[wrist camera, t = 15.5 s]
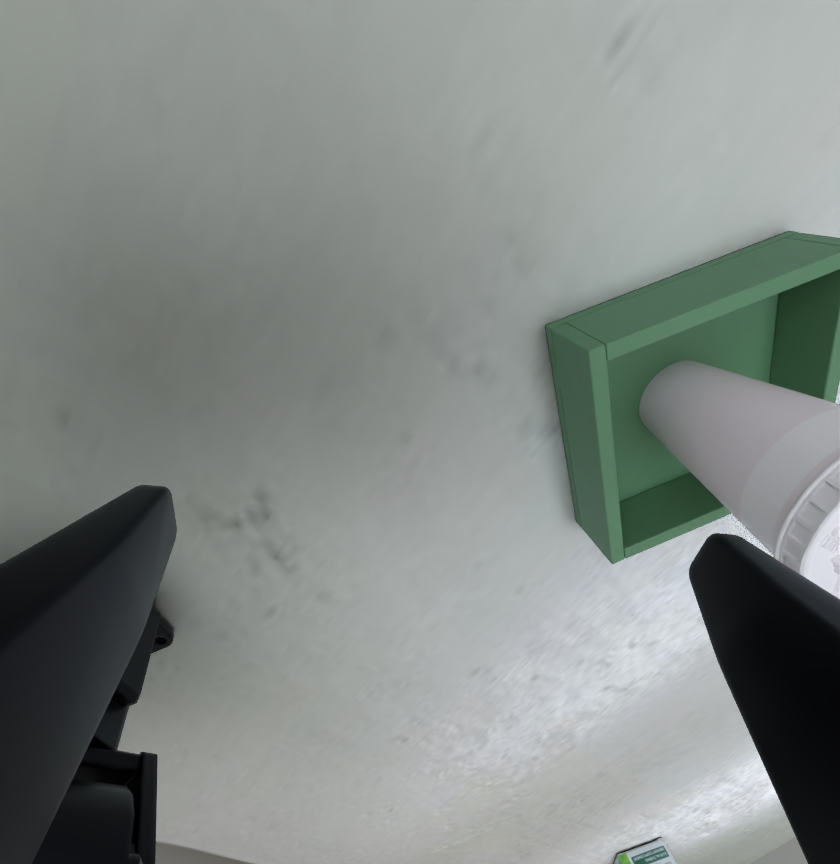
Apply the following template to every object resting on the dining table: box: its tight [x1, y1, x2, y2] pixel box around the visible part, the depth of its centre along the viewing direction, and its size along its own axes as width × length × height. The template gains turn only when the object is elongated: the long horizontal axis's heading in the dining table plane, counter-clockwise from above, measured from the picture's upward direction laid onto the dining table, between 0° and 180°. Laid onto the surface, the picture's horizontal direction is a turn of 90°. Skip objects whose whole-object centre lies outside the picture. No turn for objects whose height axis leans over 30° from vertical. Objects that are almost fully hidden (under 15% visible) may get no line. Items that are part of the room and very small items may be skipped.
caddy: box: [546, 231, 840, 564], centre depth 22 cm, size 11×11×3 cm
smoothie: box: [639, 360, 840, 599], centre depth 17 cm, size 6×6×14 cm
